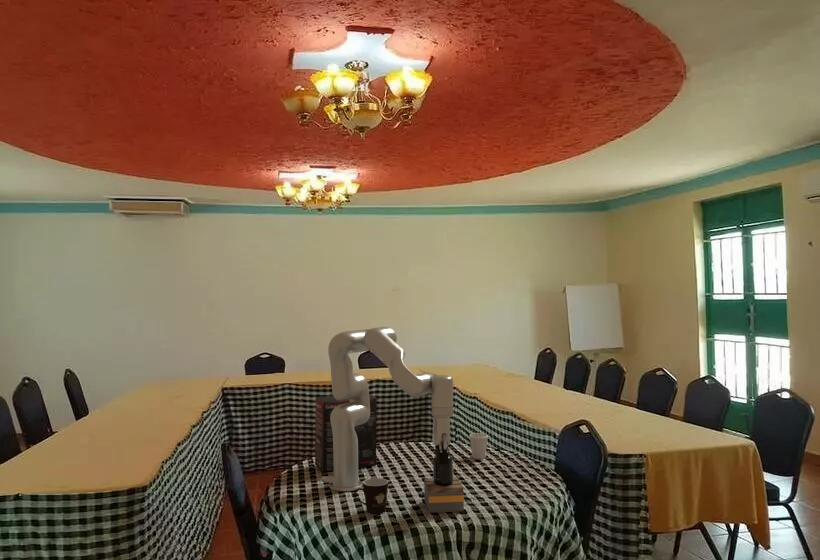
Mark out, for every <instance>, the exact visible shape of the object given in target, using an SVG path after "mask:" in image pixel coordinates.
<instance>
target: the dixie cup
mask: <svg viewBox="0 0 820 560" xmlns="http://www.w3.org/2000/svg"><path fill="white" fill-rule="evenodd" d="M488 438H489V434H487V433H483V432H474V433H470V434H469V441H470V447H471V448H470V449H471V455H472V458H473V459H474V460H484V459H486V457H487V455H486V454H487V445H488Z"/></svg>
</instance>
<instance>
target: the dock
mask: <svg viewBox="0 0 820 560" xmlns="http://www.w3.org/2000/svg"><path fill="white" fill-rule="evenodd" d="M423 488H424V492H423V494H424V503H426V504H425V507H426V509H427V513H429V512H430V513H431V514H432V513H449V512H451V513H453V512H464V507H465V506H464V502H465V496H464V491H463V492H447V493H428V491H427V488H426V486H425V483H424V487H423Z"/></svg>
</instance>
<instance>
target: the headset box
mask: <svg viewBox="0 0 820 560" xmlns="http://www.w3.org/2000/svg"><path fill="white" fill-rule="evenodd" d="M377 400H378V398H377V396H374V395H373V394H370V393H369V401H370V417H369V419H368V421H367V422H366V423H364V424H362V425H359V426H356V427H354V429H355V432H356V434H357V438H358V469H359V468H367V467H374V466H377V428H378V427H377V425H378V424H377V420H378V419H377V417H378V416H377V415H378V414H377V412H378V411H377V410H378V409H377V408H378V405H377V404H378V401H377ZM346 403H349V400H344V401H339V400H337V399H335V398H334V396H333V395H327V396H315V433H314V434H315V437H314V438H315V439H314V442H315V445H314V447H315V449H314V454H315V455H314V462H315V463H314V465H315V466H316V467H317V468H318V469H319V470H320V471H321V472H322V473H325V472H334V471H333V432H332V426H331V421H330V416H331V413H332V411H333V409H334V408H336V407H337V406H339V405H342V404H346Z"/></svg>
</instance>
